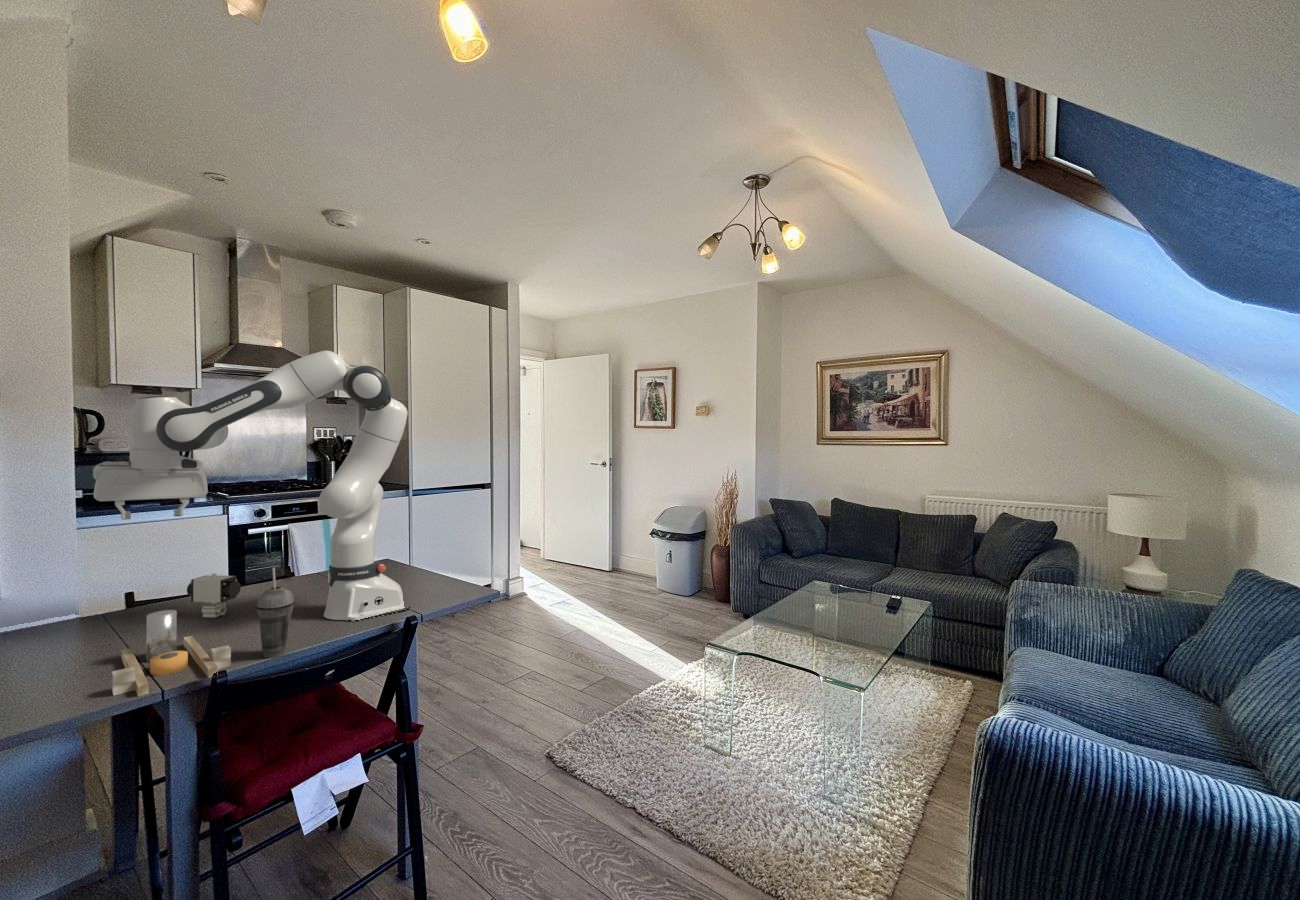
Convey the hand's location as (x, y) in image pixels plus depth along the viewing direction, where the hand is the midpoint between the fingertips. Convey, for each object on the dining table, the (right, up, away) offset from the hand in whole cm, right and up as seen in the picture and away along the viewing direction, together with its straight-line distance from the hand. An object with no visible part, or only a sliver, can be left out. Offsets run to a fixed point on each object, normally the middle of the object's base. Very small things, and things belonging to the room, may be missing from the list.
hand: (152, 517), depth 128 cm
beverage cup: (+35, -31, -7) cm, 48 cm away
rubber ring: (+19, -31, -16) cm, 39 cm away
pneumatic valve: (0, -30, +18) cm, 35 cm away
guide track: (+18, -31, -15) cm, 38 cm away
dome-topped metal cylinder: (+11, -31, -10) cm, 34 cm away
